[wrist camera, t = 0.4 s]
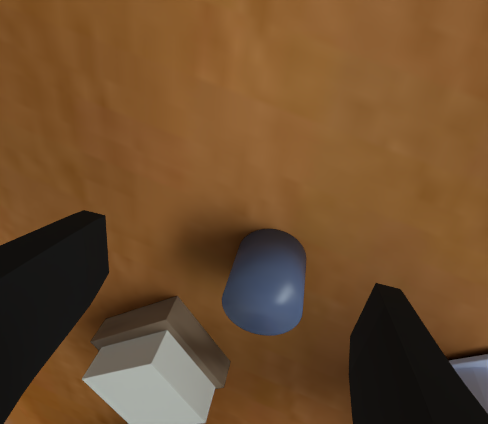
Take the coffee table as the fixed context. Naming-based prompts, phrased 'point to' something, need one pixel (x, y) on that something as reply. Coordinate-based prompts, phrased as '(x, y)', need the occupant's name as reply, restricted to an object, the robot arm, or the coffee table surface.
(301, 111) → the coffee table surface
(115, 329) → the walnut base block
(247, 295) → the navy rounded cylinder
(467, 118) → the coffee table surface
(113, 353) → the cream top block
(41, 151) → the coffee table surface
